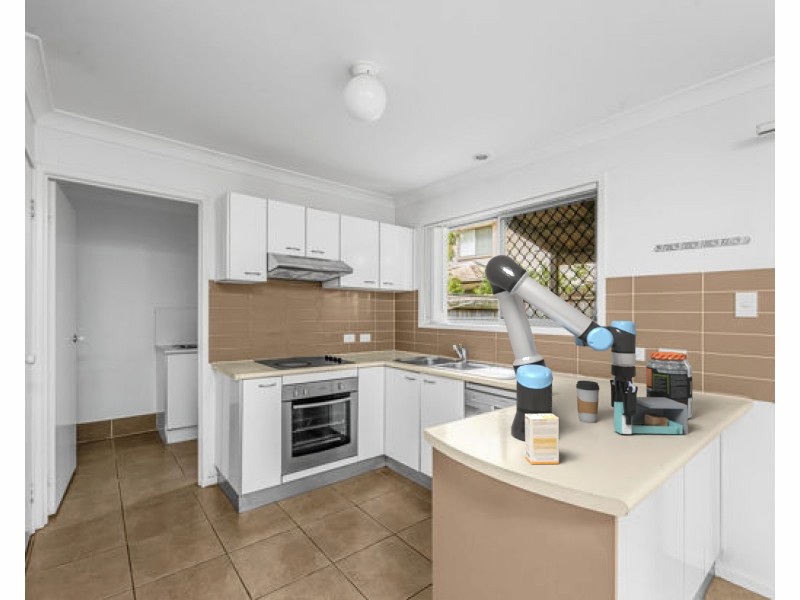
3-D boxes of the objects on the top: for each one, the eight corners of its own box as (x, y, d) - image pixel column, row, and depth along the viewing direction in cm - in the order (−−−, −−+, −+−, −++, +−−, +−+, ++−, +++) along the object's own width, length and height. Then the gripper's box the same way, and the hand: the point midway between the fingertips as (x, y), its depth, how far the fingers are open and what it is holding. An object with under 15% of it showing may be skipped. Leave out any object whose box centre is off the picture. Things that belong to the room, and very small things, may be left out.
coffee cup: (602, 424, 146) (602, 384, 146) (578, 423, 147) (578, 383, 147) (595, 418, 154) (595, 380, 154) (573, 417, 155) (573, 379, 156)
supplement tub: (701, 418, 155) (701, 354, 156) (675, 422, 149) (675, 355, 150) (662, 408, 170) (662, 350, 170) (637, 412, 164) (637, 351, 165)
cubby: (650, 433, 136) (650, 404, 136) (630, 423, 148) (630, 396, 148) (687, 433, 136) (687, 405, 136) (664, 423, 148) (664, 397, 148)
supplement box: (552, 458, 113) (552, 413, 113) (559, 464, 108) (559, 417, 108) (524, 458, 112) (524, 413, 113) (530, 464, 108) (530, 417, 108)
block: (653, 432, 138) (653, 418, 138) (644, 427, 143) (644, 414, 143) (667, 432, 137) (667, 418, 138) (658, 428, 142) (658, 414, 143)
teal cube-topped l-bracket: (620, 433, 133) (620, 404, 134) (604, 424, 144) (604, 397, 145) (684, 435, 133) (684, 406, 133) (663, 425, 144) (663, 398, 144)
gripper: (649, 368, 127) (649, 439, 127) (620, 361, 144) (620, 424, 144) (626, 368, 127) (626, 439, 127) (600, 361, 144) (600, 423, 144)
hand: (623, 431), depth 135 cm, fingers closed on teal cube-topped l-bracket, 4 cm apart
